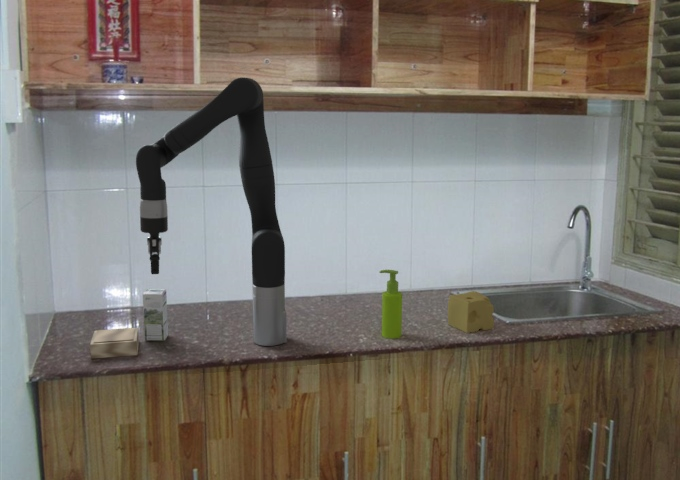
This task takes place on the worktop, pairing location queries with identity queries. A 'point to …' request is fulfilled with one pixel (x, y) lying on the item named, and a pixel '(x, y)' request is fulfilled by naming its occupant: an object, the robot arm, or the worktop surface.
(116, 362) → the worktop surface
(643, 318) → the worktop surface
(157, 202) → the robot arm
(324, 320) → the worktop surface
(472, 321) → the cheese
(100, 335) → the plinth
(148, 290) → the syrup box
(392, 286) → the soap dispenser
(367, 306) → the worktop surface
